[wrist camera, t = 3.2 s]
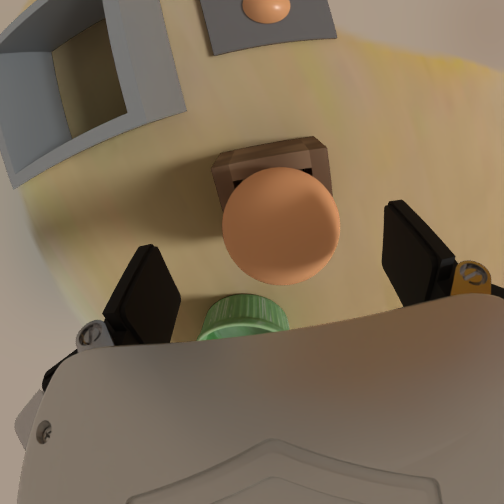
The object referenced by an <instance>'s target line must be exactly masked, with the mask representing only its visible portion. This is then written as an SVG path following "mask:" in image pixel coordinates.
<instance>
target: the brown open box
mask: <svg viewBox="0 0 504 504" xmlns="http://www.w3.org/2000/svg"><path fill="white" fill-rule="evenodd" d="M275 167H287V168H294V169H297V170H298V169H304V170H305V173H307V174H309V175H311V176H313V177H314V178H316V179H317V180H318V181H319V182H321V183H322V184H323V185H324V187H325V188H326V189H327V190H328V191H329V193H330V194H331V196H332V197H333V194H332V185H331V175H330V167H329V159H328V151H327V147H326V146H325V145H323V144H322V143H321V142H320V141H319V140H318V139H316V138H315V137H314V136H312V137H305V138H298V139H291V140H285V141H279V142H273V143H268V144H262V145H257V146H252V147H247V148H242V149H237V150H232V151H228V152H223V153H220V155H219V156H218V158H217V160H216V161H215V163H214V164H213V166H212V168H211V171H212V174H213V178H214V182H215V185H216V189H217V192H218V196H219V199H220V203H221V207H222V210H223V214H224V209H225V207H226V204H227V201H228V199H229V198H230V196H231V194H232V193H233V191H234V190H235V189H236V187H237V186H238V185H239V184H240V183H241V182H242V179H246V178H248V177H249V176H251V175H253V174H254V173H256V172H259V171H261V170H264V169H268V168H275Z"/></svg>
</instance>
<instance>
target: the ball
mask: <svg viewBox="0 0 504 504" xmlns="http://www.w3.org/2000/svg"><path fill="white" fill-rule="evenodd" d="M222 232H223V238H224V242H225V245H226V248H227V250H228V252H229V254H230V256H231V258H232V259H233V261H234V262H235V263H236V264H237V266H238V267H239V268H240V269H241V270H242V271H244V272H245V273H246V274H247V275H249V276H251V277H252V278H254V279H256V280H258V281H261V282H264V283H267V284H272V285H291V284H295V283H299V282H302V281H304V280H307V279H309V278H311V277H312V276H314V275H315V274H317V273H318V272H319V271H320V270H321V269H322V268H323V267H324V266H325V265H326V264H327V263H328V262H329V260H330V259H331V257H332V255H333V253H334V251H335V249H336V247H337V244H338V240H339V234H340V219H339V213H338V209H337V206H336V204H335V202H334V199H333V197H332V196H331V194H330V193H329V191H328V190H327V189H326V188H325V187H324V185H323V184H322V183H321V182H319V181H318V180H317V179H316V178H314V177H313V176H311V175H309V174H307V173H305V172H303V171H301V170H297V169H294V168H287V167H275V168H268V169H264V170H261V171H259V172H256V173H254V174H253V175H251V176H249V177H248V178H246V179H245V180H244V181H242V182H241V183H240V184H239V185H238V186H237V187H236V189H235V190H234V191H233V193H232V194H231V196H230V198H229V199H228V201H227V204H226V207H225V209H224V214H223V221H222Z"/></svg>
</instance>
